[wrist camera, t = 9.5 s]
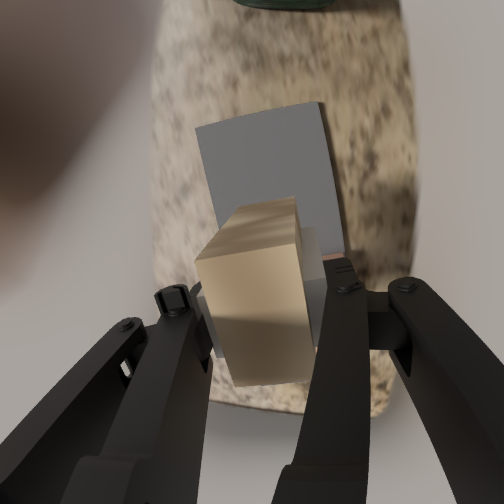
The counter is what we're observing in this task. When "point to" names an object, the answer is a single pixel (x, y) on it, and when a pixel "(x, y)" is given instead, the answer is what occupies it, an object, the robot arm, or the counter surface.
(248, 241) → the upright block with backplate
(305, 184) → the mat
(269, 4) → the coffee jar
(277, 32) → the counter surface
